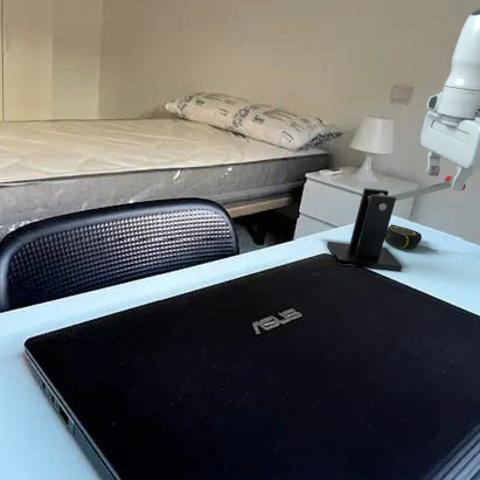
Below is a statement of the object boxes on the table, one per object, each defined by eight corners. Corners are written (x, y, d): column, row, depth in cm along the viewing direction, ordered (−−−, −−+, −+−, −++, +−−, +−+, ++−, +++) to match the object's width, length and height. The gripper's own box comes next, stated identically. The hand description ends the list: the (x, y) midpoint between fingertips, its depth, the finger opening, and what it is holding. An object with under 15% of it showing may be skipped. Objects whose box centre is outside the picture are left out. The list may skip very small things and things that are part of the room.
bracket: (384, 252, 104) (402, 189, 98) (400, 271, 96) (421, 203, 90) (326, 246, 104) (341, 183, 99) (337, 265, 96) (355, 197, 91)
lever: (453, 184, 95) (452, 172, 95) (466, 192, 91) (465, 179, 90) (366, 205, 98) (364, 194, 97) (375, 213, 94) (373, 202, 93)
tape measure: (419, 246, 109) (424, 230, 107) (411, 255, 104) (416, 238, 102) (387, 237, 113) (391, 221, 111) (378, 245, 108) (382, 228, 106)
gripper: (520, 117, 78) (490, 201, 83) (457, 100, 97) (436, 169, 102) (479, 113, 78) (451, 197, 83) (424, 97, 97) (404, 166, 102)
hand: (442, 182), depth 93 cm, fingers open, 8 cm apart
